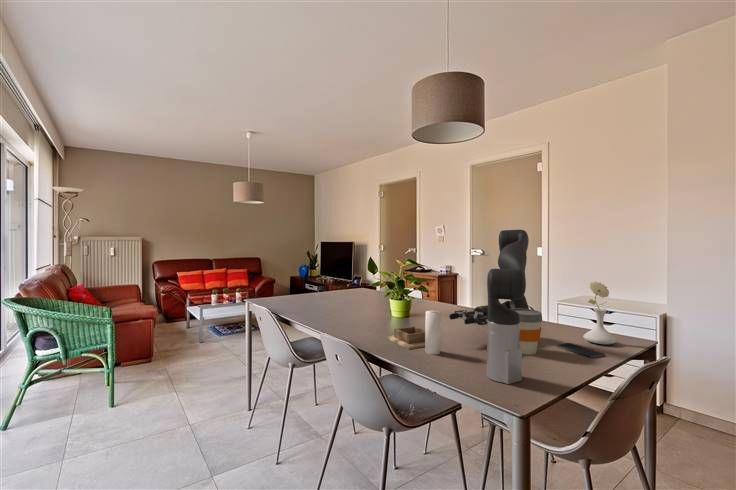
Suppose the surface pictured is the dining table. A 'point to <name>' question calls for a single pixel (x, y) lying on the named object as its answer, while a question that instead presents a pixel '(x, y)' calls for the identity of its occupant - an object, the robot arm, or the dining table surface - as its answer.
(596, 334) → the flower in vase
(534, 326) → the reusable coffee cup
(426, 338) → the paper towel roll
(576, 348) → the phone
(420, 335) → the open wooden box
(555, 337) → the dining table surface
